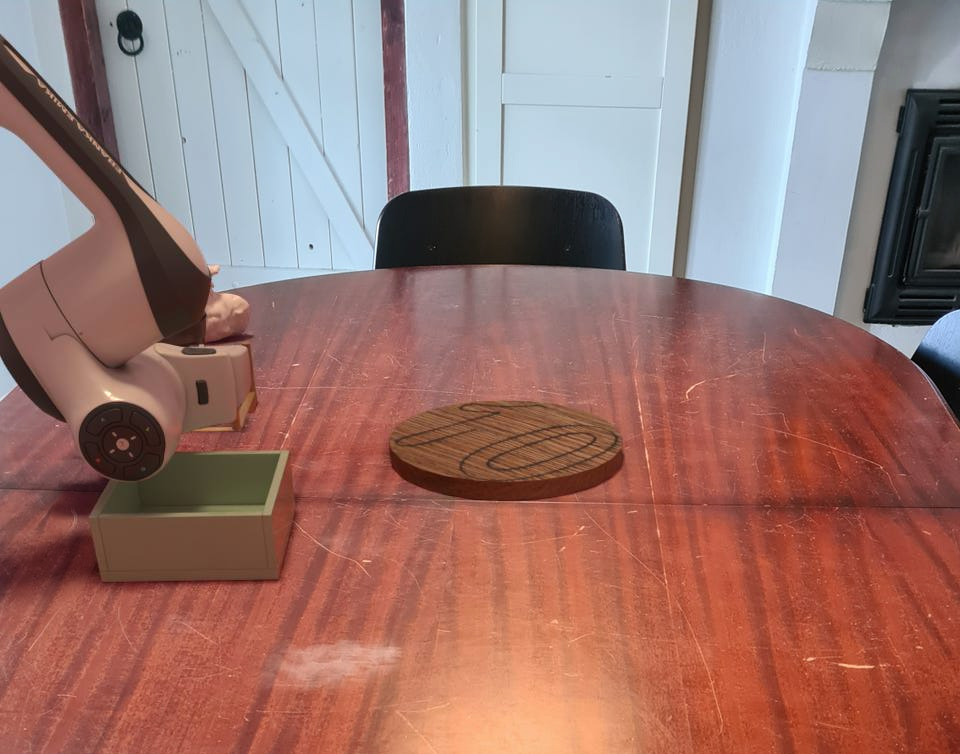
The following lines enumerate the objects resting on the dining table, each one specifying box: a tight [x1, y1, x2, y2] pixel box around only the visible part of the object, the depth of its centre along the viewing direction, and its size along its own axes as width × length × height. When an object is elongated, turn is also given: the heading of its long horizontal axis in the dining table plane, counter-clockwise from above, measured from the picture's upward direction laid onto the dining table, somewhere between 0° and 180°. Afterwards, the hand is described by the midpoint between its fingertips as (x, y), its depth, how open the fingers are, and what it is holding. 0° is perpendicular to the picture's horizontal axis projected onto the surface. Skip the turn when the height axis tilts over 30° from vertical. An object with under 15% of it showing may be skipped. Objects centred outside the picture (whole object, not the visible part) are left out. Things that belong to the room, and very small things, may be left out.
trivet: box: [388, 399, 624, 501], centre depth 132 cm, size 25×25×2 cm
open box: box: [88, 449, 297, 583], centre depth 113 cm, size 16×16×6 cm
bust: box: [205, 264, 251, 344], centre depth 165 cm, size 12×8×11 cm
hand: (151, 354), depth 126 cm, fingers open, 8 cm apart
